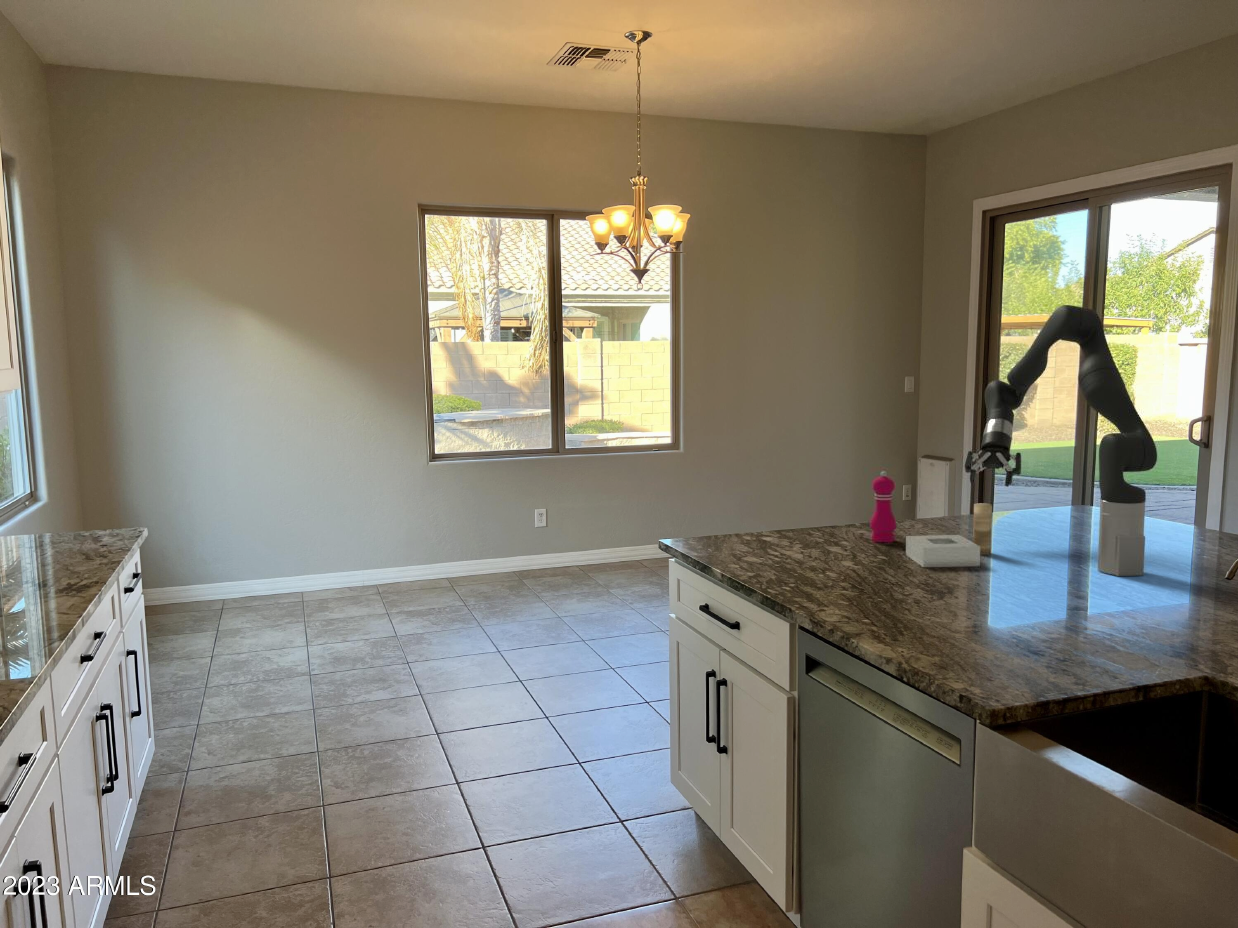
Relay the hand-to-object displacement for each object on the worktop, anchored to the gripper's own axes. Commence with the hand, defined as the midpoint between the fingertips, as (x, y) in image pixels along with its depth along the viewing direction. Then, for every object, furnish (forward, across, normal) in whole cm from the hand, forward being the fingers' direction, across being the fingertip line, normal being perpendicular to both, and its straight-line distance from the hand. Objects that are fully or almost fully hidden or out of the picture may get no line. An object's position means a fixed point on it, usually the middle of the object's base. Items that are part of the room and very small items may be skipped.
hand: (990, 484), depth 235 cm
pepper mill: (+17, -27, +8) cm, 33 cm away
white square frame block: (+29, -8, -5) cm, 30 cm away
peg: (+20, 0, +4) cm, 20 cm away
